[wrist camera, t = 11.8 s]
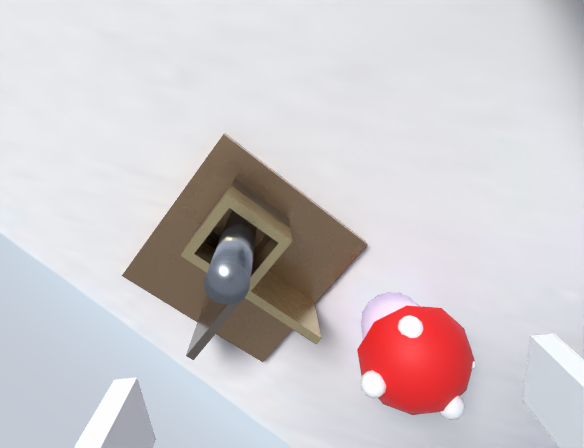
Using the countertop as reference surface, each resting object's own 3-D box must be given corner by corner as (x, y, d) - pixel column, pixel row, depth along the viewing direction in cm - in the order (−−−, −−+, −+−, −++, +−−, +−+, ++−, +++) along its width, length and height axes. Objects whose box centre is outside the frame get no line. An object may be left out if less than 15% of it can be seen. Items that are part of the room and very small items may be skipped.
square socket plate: (224, 133, 35) (212, 141, 28) (365, 241, 39) (385, 271, 32) (125, 271, 39) (92, 309, 32) (262, 356, 43) (260, 406, 36)
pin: (238, 203, 36) (221, 255, 24) (263, 221, 37) (258, 280, 24) (221, 226, 37) (194, 288, 24) (245, 243, 37) (232, 312, 25)
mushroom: (327, 302, 41) (347, 378, 30) (416, 256, 40) (473, 317, 29) (368, 369, 44) (401, 461, 33) (452, 328, 43) (516, 410, 32)
